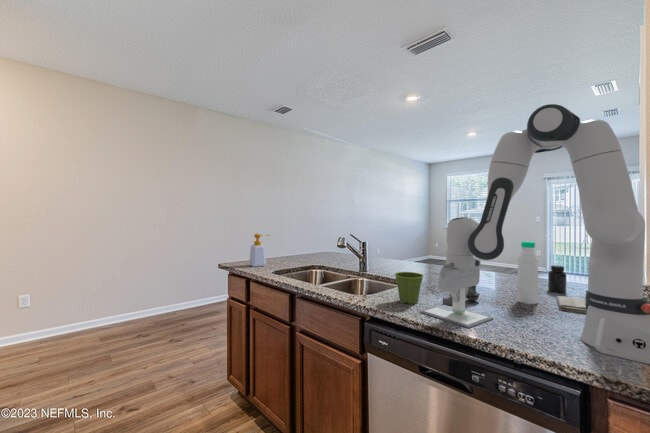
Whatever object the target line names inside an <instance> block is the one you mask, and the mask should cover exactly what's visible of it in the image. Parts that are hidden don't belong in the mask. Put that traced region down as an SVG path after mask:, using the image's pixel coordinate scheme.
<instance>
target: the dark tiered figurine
mask: <svg viewBox="0 0 650 433" xmlns="http://www.w3.org/2000/svg"><path fill="white" fill-rule="evenodd" d="M479 296H480V293H479V292H477V285H476V286H472V287H468V292H467V295H466V300H465V304H470V305H478V304H480V302H479V301H478V300H479V298H480V297H479Z"/></svg>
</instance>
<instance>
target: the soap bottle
mask: <svg viewBox="0 0 650 433" xmlns="http://www.w3.org/2000/svg"><path fill="white" fill-rule="evenodd" d="M261 236H262V234H260V233H255V234H253V237H254V238H255V239H256V241H255V240H254V242H253V244H252V245H250V254H249V263H248V264H249V266H251V267H254V268H257V267H264V266H265V267H266V265H267V263H266V254H265V253H266V252H265V246H264V245H262V241H261V240H259V239H261ZM266 236H267V237H270V234H266Z"/></svg>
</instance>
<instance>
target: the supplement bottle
mask: <svg viewBox="0 0 650 433" xmlns="http://www.w3.org/2000/svg"><path fill="white" fill-rule="evenodd" d="M564 271H565V267H564V266H563V265H550V271H549V272H548V277H547V279H548V280H547V289H548V291H549V292H550V291H551V292H550V293H554V292H555V294H566V293H567V274H566V272H564Z"/></svg>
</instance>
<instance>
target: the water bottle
mask: <svg viewBox="0 0 650 433" xmlns="http://www.w3.org/2000/svg"><path fill="white" fill-rule="evenodd" d="M520 246H521V248H522V249H521V251H520V254H519V255H518V256H517V262H518V264H517V283H518V284H517V296H516V297H517V299H516V300H517V302H519V303H521V304H524V305H525V304H526V305H537V304H538V303H539V296H538V293H539V285H538V283H539V264H538V263H539V258H538V256H537V255H536V252H535V251H534V250H535V248H536V242H534V241H526V240H525V241H522V242H521V243H520Z"/></svg>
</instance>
